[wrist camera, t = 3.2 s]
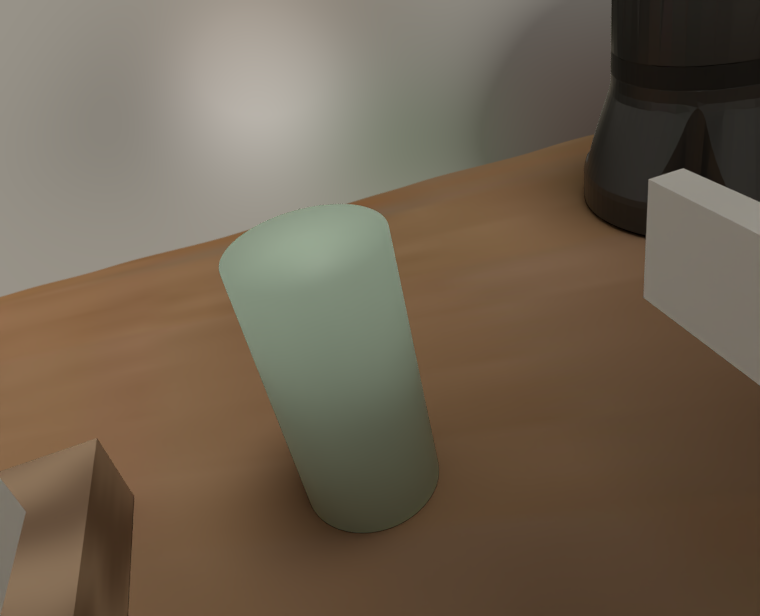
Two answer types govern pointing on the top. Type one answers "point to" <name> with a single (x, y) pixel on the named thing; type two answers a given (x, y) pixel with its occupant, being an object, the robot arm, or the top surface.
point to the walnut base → (71, 535)
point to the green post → (337, 360)
